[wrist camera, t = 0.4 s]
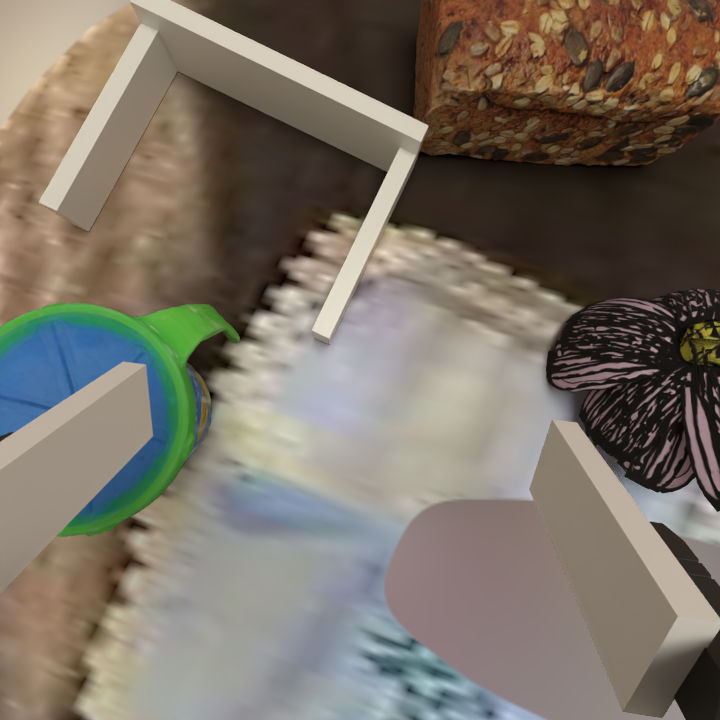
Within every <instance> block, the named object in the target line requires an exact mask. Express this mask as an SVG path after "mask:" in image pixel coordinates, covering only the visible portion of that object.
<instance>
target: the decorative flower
mask: <svg viewBox="0 0 720 720" xmlns="http://www.w3.org/2000/svg"><path fill="white" fill-rule="evenodd" d="M572 316H573V317H572V318H571V319H570V320H569V321H567V322H566V323H568V324H567V325H566V327H565V328H564V330H563V331H562V332H563V333H562V332H561V333H562V334H561V335H562V336H561V338H560V340H557V342H556V345H555V347H554V349H553V350H552V351H549V353H548V360H547V368H546V371H547V378H548V382H549V383H550V384H551V385H552V386H553V387H555V388H557V389H559V390H566V391H571V392H579V391H588V390H591V391H590V392H589V394H588V395H587V397H586V399H585V400H584V402H583V404H582V407H581V411H580V414H579V417H580V418H581V421H582V422H583V423H584V424H585V430H586V435H587V437H588V436H591V438H592V440H593V442H594V444H595V446H596V445H597V444H598V445H599V446H600V447H601V448H602V449H603V450H604V451H605V452H606V453H607V454H608V455H609V454H610V455H611V456H614V457H615V458H616V459H618V461H617V463H618V464H619V465H620V466H621V467H623V469H624V470H625V472H626V474H625V477H627V478H628V479H630V480H632V481H634V482H636V483H638V484H640V485H641V486H643V487H645V488H647V489H651V490H653V491H655V492H657V493H658V492H659V491H660V492H661V493H667V492H673V491H676V490H679V489H681V488H683V487H685V486H686V485H688V484H689V483H690V482H691V481H692V479H694V478H695V477H696V479H697V483H698V485H699V487H700V489H701V490H702V492H703V494H704V496H705V497H706V498H707V500H708V501H709V502H710V503H711V505H712V506H713V507H714V508H715V509H716V511H717V512H718V511H720V290H711V289H691V290H685V291H678V292H673V293H670V294H667V295H665V296H660V297H657V298H655V299H654V300H651V301H647V300H643V299H639V298H616V299H610V300H604V301H601V302H597V303H594V304H591V305H589V306H587V307H586V308H584V309H583V310H581V311H579V312H577V313H575V314H574V315H572Z"/></svg>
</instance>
